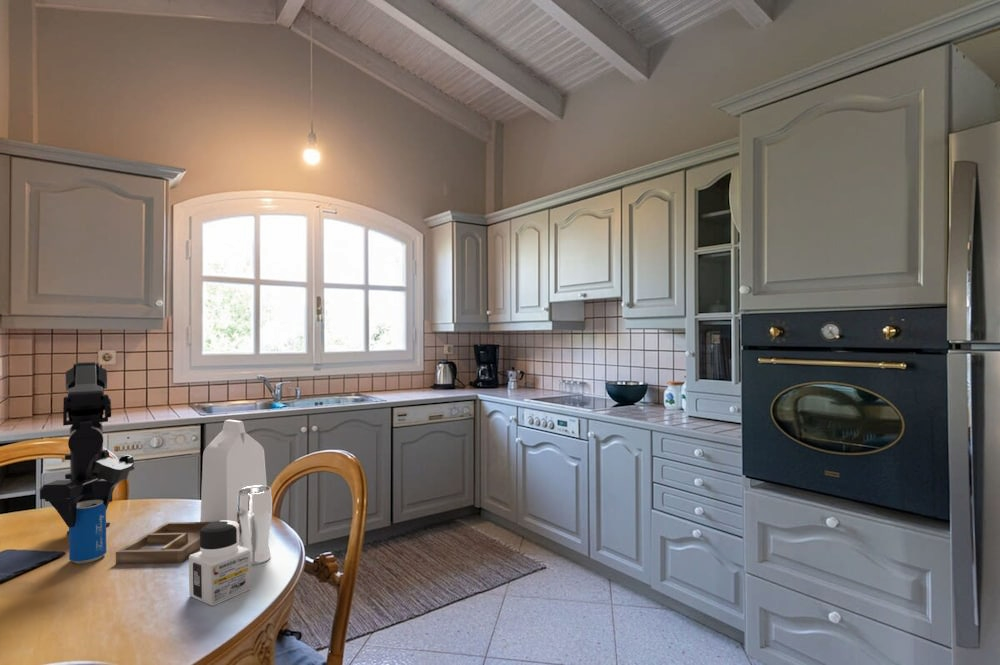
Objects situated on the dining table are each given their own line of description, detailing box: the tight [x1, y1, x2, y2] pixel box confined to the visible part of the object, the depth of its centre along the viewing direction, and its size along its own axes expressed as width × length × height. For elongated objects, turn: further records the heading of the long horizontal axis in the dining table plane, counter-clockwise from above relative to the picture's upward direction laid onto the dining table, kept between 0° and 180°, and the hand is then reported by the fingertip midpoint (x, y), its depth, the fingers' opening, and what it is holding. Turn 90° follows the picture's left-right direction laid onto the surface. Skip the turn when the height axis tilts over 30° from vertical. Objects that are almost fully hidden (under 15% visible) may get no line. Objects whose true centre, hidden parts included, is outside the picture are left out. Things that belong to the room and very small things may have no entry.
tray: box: [115, 521, 212, 565], centre depth 125 cm, size 18×14×3 cm
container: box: [188, 520, 252, 607], centre depth 103 cm, size 8×8×13 cm
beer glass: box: [237, 485, 273, 566], centre depth 118 cm, size 7×7×15 cm
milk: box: [199, 419, 268, 523], centre depth 142 cm, size 12×12×26 cm
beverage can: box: [68, 500, 107, 565], centre depth 119 cm, size 6×6×12 cm
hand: (87, 519), depth 119 cm, fingers open, 9 cm apart
